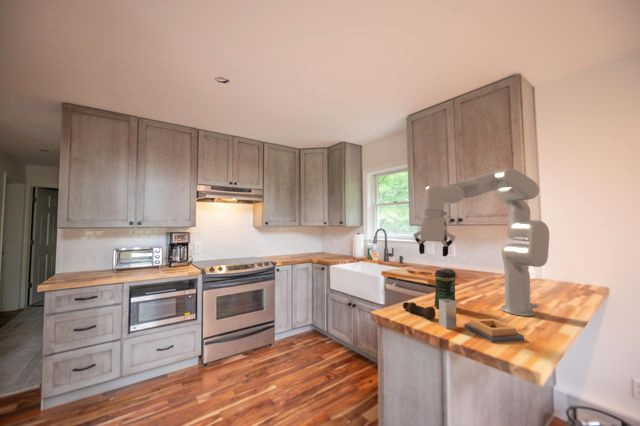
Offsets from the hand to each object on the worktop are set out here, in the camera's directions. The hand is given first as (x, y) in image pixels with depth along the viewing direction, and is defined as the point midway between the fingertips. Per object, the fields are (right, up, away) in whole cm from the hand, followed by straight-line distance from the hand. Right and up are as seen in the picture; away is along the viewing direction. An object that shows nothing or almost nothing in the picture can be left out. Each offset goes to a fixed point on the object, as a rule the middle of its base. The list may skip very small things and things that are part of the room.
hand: (433, 254), depth 113 cm
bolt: (-4, -28, +6) cm, 29 cm away
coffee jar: (+12, -28, +15) cm, 34 cm away
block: (+2, -27, -8) cm, 28 cm away
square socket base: (+16, -27, -15) cm, 34 cm away
